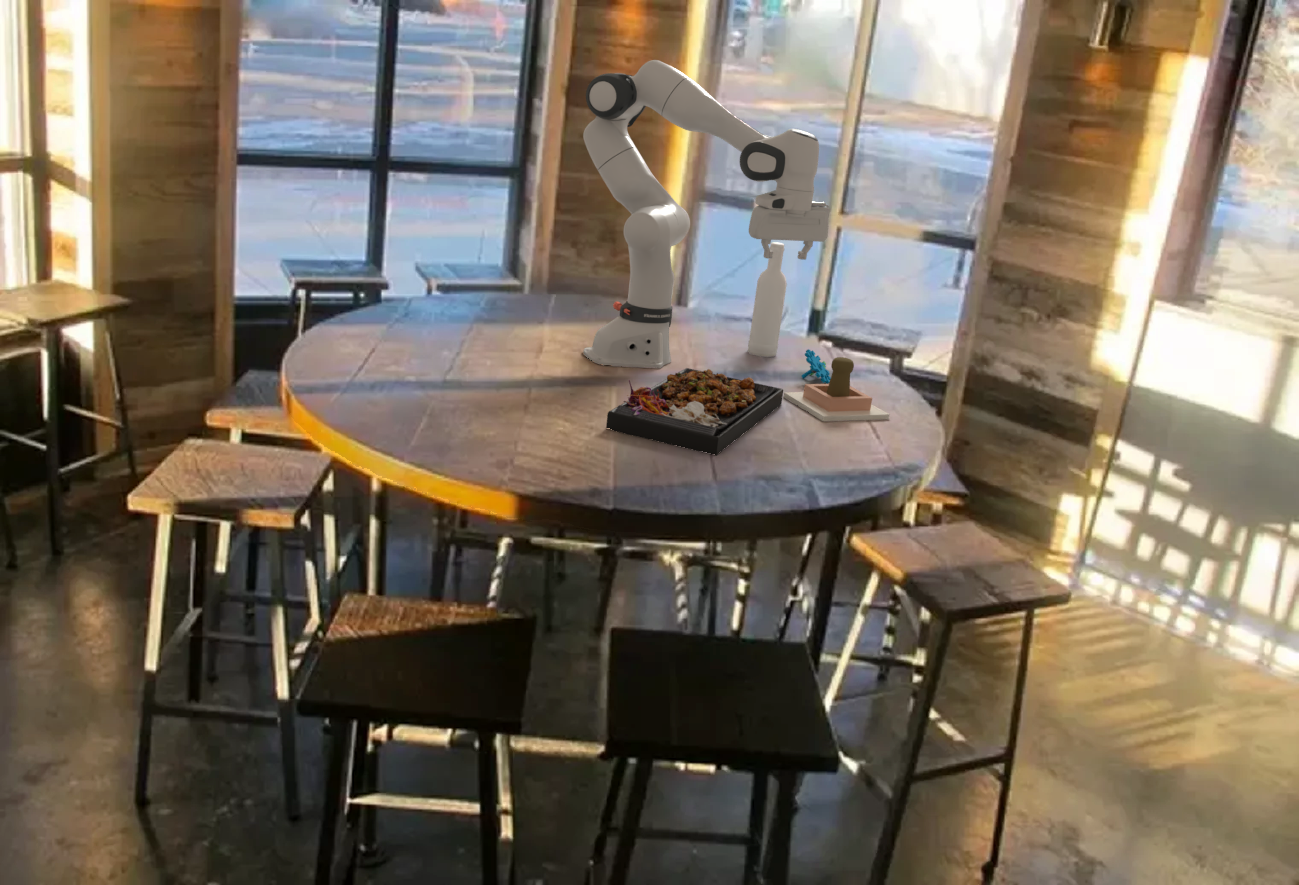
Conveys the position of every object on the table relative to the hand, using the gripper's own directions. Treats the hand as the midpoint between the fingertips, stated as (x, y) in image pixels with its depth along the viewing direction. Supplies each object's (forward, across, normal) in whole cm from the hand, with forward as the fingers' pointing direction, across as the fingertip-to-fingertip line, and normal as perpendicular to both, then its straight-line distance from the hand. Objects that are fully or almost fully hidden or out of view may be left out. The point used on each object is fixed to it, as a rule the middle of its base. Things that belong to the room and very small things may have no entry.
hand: (784, 258), depth 294 cm
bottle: (+31, -13, -26) cm, 43 cm away
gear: (+31, -15, -1) cm, 35 cm away
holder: (+31, -7, +21) cm, 38 cm away
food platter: (+32, +30, +24) cm, 50 cm away
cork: (+30, -7, +21) cm, 37 cm away
